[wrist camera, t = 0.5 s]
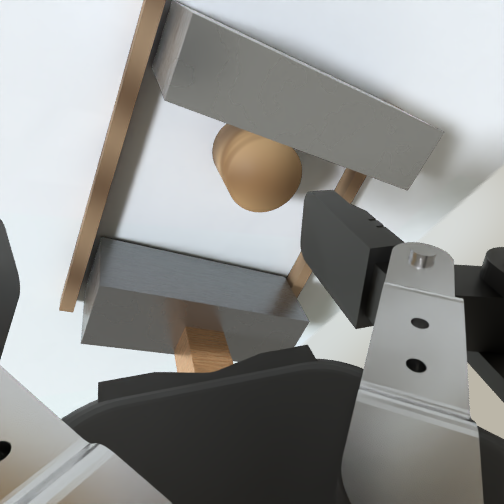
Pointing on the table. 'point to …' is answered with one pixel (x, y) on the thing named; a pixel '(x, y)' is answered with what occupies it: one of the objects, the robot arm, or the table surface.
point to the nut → (256, 169)
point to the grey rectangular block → (286, 99)
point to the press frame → (112, 150)
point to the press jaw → (186, 307)
